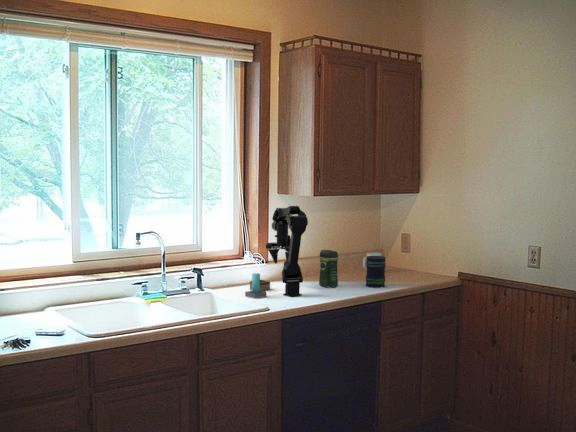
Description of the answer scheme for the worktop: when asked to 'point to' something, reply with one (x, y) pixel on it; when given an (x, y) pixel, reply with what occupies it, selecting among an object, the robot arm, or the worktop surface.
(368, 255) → the mug
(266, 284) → the upper stand
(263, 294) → the lower dock
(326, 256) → the coffee jar
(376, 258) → the storage jar
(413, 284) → the worktop surface
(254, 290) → the dowel plug
